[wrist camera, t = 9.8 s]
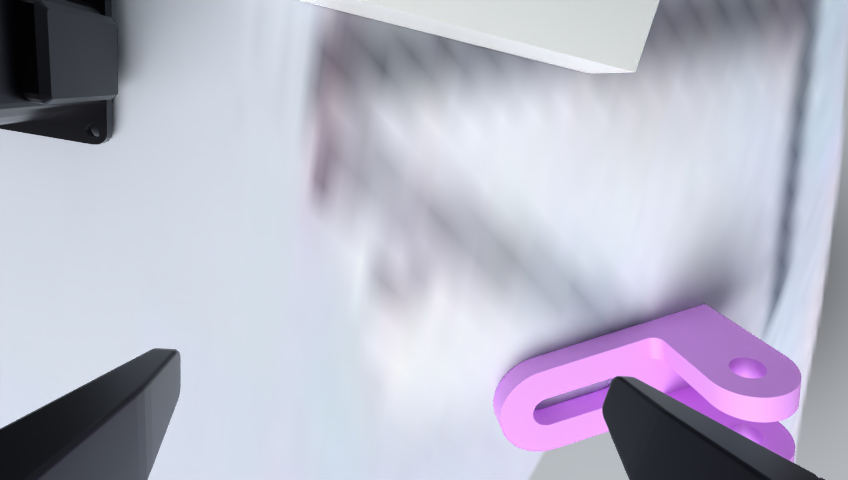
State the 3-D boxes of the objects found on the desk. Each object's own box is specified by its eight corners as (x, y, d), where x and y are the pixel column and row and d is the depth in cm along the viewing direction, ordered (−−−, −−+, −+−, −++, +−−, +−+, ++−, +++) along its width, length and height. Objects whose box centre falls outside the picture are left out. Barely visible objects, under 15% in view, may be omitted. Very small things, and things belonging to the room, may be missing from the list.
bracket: (702, 302, 25) (825, 381, 18) (704, 379, 27) (814, 474, 20) (484, 371, 24) (531, 477, 18) (502, 444, 26) (550, 563, 20)
